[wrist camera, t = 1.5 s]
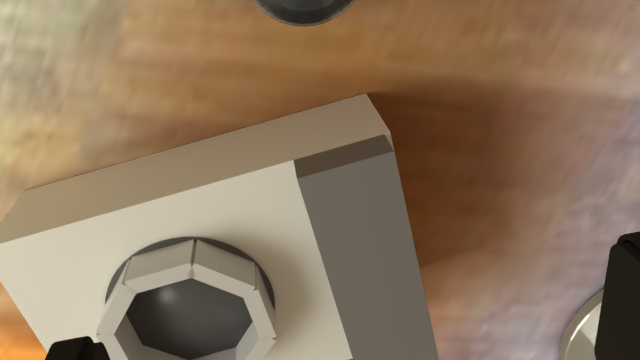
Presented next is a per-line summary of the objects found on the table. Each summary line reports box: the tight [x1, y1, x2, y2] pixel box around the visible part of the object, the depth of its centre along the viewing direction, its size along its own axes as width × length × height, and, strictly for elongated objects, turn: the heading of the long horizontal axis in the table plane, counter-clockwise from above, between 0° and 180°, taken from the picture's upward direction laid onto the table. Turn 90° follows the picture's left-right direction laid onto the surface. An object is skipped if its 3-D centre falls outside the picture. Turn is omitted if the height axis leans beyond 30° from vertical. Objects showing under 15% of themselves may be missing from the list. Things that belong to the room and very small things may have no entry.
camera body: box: [0, 93, 439, 360], centre depth 31 cm, size 20×13×8 cm, turn 104°
